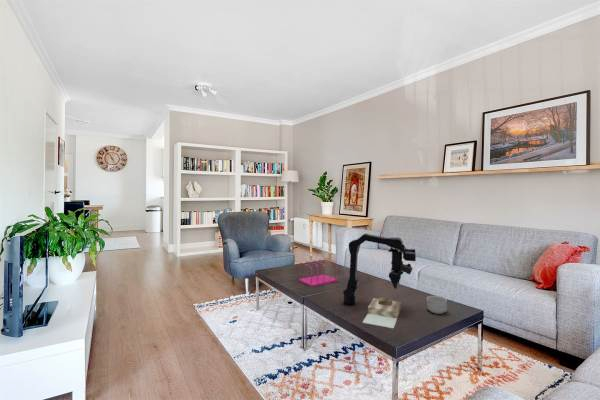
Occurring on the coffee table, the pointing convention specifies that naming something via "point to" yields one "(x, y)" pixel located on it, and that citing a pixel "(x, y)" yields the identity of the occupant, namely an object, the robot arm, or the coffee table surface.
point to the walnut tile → (385, 301)
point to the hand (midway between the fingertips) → (396, 286)
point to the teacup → (437, 304)
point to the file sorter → (318, 276)
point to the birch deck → (384, 309)
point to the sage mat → (380, 320)
